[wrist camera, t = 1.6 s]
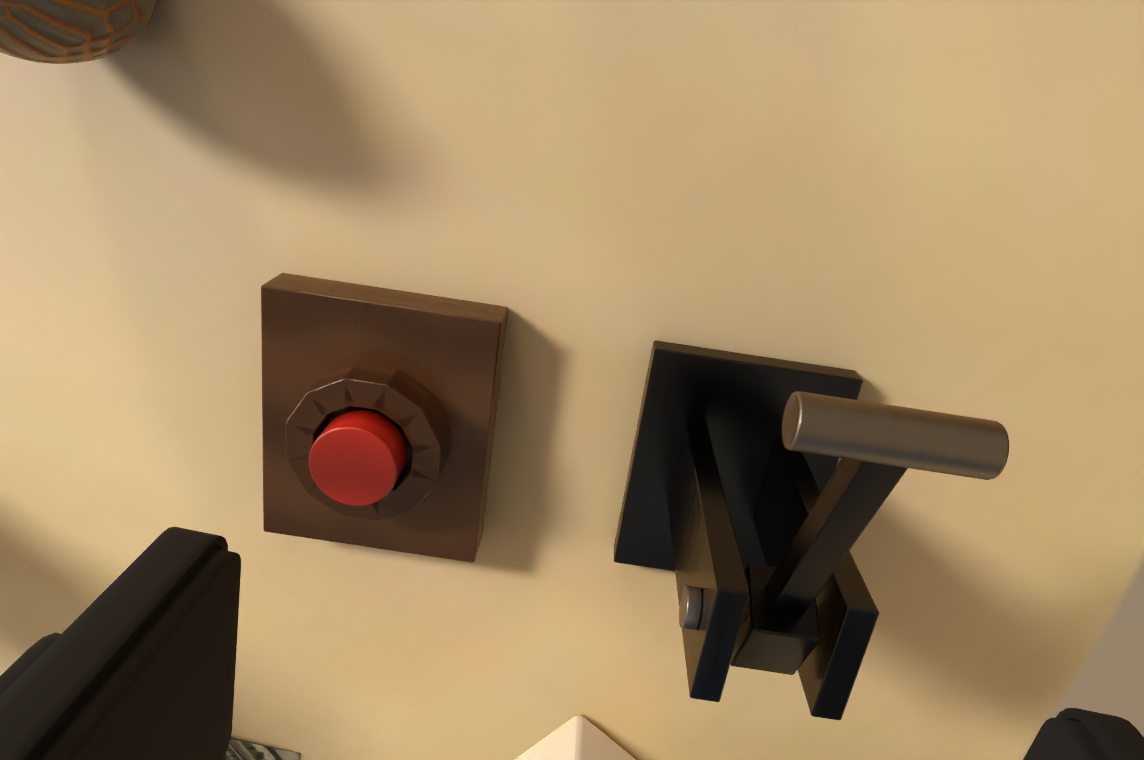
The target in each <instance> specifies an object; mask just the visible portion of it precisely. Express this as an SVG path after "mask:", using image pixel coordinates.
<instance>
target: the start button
mask: <svg viewBox="0 0 1144 760" xmlns="http://www.w3.org/2000/svg"><path fill="white" fill-rule="evenodd" d="M406 457H407V449H406V444H405V441H404V438H403V436H402V434H401V433H400V431H399V430H398V428H397V427H396V426H395V425H394V424H393V423H392V422H391V421H389V420H388V419H387V418H385V417H383V416H381V415H379V414H377V413H374V412H370V411H364V410H355V411H349V412H345V413H343V414H341V415H339V416H337V417H336V418H334V419H333V420H332V421H331V422H330V423H329V424H328V426H327V427H326V428H325V429H324V431H323V432H322V433H321V434H320V436H319V437H318V438H317V439H316V441H315V442H314V444H313V445H312V448H311V450H310V454H309V468H310V472H311V475H312V477H313V479H314V481H315V483H316V484H317V486H318V487H319V488H320V489H321V490H322V491H323V492H324V493H325V494H326V495H328V496H329V497H330V498H332V499H334V500H336V501H338V502H340V503H343V504H347V505H353V506H364V505H369V504H373V503H375V502H378V501H380V500H381V499H383V498H384V497H385V496H387V495H388V494H389V492H390V491H391V490H392V488H393V487H394V485H395V483H396V481H397V479H398V477H399V475H400V473H401V471H402V469H403V467H404V465H405V462H406Z"/></svg>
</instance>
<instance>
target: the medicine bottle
mask: <svg viewBox="0 0 1144 760" xmlns="http://www.w3.org/2000/svg"><path fill="white" fill-rule="evenodd" d="M514 760H636V759H635V758H633V757H632V756H631V755H630V754H629V753H627V752H626V751H625V750H624V749H622V748H621V747H620V746H619V745H618V744H616V743H615V742H614V741H613V740H611V739H610V738H609V737H608V736H607V735H605V734H604V733H603V732H602V731H600V730H599V729H598V728H597V727H596V726H594V725H593V724H592V723H591V722H589V721H588V720H587V719H586V718H585V717H583V716H581V715H576V716H574V717H573V718H571V719H570V720H568V721H567V722H566V723H564V724H563V725H561V726H560V727H559V728H557V729H556V730H555V731H553V732H552V733H550V734H549V735H548V736H546V737H545V738H543V739H542V740H541V741H539V742H538V743H536V744H535V745H534V746H532V747H531V748H529V749H528V750H527V751H525V752H524V753H522V754H521V755H520V756H518V757H517V758H515V759H514Z"/></svg>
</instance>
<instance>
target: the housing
mask: <svg viewBox="0 0 1144 760" xmlns="http://www.w3.org/2000/svg"><path fill="white" fill-rule="evenodd" d="M507 313H508V308H507V307H503V306H497V305H490V304H484V303H477V302H470V301H464V300H457V299H451V298H444V297H437V296H431V295H424V294H418V293H411V292H404V291H398V290H391V289H385V288H378V287H371V286H365V285H358V284H352V283H345V282H338V281H332V280H325V279H319V278H312V277H305V276H299V275H292V274H286V273H281V274H280V275H278V276H276V277H275V278H273V279H272V280H270V281H268V282H267V283H265V284H264V285H262V286H261V317H262V415H263V512H264V531H266V532H272V533H279V534H286V535H292V536H299V537H306V538H312V539H319V540H326V541H332V542H339V543H346V544H352V545H359V546H366V547H372V548H379V549H386V550H392V551H399V552H406V553H412V554H419V555H426V556H432V557H439V558H446V559H452V560H459V561H466V562H474V561H475V559H476V555H477V552H478V548H479V545H480V541H481V538H482V530H483V522H484V513H485V504H486V496H487V487H488V478H489V470H490V461H491V452H492V443H493V435H494V426H495V417H496V409H497V400H498V391H499V383H500V374H501V365H502V357H503V348H504V339H505V331H506V322H507ZM355 410H364V411H370V412H374V413H377V414H379V415H381V416H383V417H385V418H387V419H388V420H389V421H391V422H392V423H393V424H394V425H395V426H396V427H397V428H398V430H399V431H400V433H401V434H402V436H403V438H404V441H405V444H406V449H407V457H406V462H405V465H404V467H403V469H402V471H401V473H400V475H399V477H398V479H397V481H396V483H395V485H394V487H393V488H392V490H391V491H390V492H389V494H388V495H387V496H385V497H384V498H383V499H381V500H380V501H378V502H375V503H373V504H369V505H364V506H353V505H347V504H343V503H340V502H338V501H336V500H334V499H332V498H330V497H329V496H328V495H326V494H325V493H324V492H323V491H322V490H321V489H320V488H319V487H318V486H317V484H316V483H315V481H314V479H313V477H312V475H311V472H310V468H309V454H310V450H311V448H312V445H313V444H314V442H315V441H316V439H317V438H318V437H319V436H320V434H321V433H322V432H323V431H324V429H325V428H326V427H327V426H328V424H329V423H330V422H331V421H332V420H333V419H334V418H336V417H337V416H339V415H341V414H343V413H345V412H349V411H355Z"/></svg>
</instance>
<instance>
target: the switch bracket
mask: <svg viewBox="0 0 1144 760" xmlns="http://www.w3.org/2000/svg"><path fill="white" fill-rule="evenodd" d="M862 382H863V381H862V379H861V378H860V376H859V375H858V374H857V373H856V371H853V370H846V369H840V368H833V367H827V366H820V365H813V364H807V363H800V362H794V361H787V360H780V359H774V358H767V357H761V356H754V355H747V354H741V353H734V352H728V351H721V350H714V349H708V348H701V347H695V346H688V345H681V344H675V343H668V342H662V341H654V342H653V347H652V352H651V357H650V362H649V368H648V373H647V378H646V383H645V388H644V394H643V399H642V404H641V409H640V414H639V420H638V425H637V430H636V435H635V440H634V446H633V451H632V456H631V461H630V466H629V472H628V477H627V482H626V487H625V492H624V498H623V503H622V508H621V513H620V518H619V524H618V529H617V534H616V539H615V544H614V562H617V563H624V564H631V565H637V566H644V567H651V568H657V569H664V570H671V571H675V573H676V582H677V590H678V599H679V607H680V608H679V623H680V627H681V628H682V633H683V642H684V650H685V659H686V667H687V676H688V684H689V693H690V697H691V698H695V699H701V700H708V701H715V702H719V701H720V698H721V695H722V691H723V688H724V684H725V680H726V677H727V673H728V670H729V666H730V662H731V659H732V655H733V652H734V648H735V645H736V641H737V637H738V634H739V630H740V627H741V623H742V619H743V616H744V612H745V609H746V605H747V601H748V598H749V589H748V585H747V581H746V578H745V574H744V572H745V570H746V568H747V566H748V564H756V565H763V566H770V567H776V568H777V566H778V564H779V563H780V561H781V559H782V558H783V556H784V554H785V553H786V551H787V549H788V548H789V546H790V544H791V543H792V541H793V539H794V538H795V536H796V534H797V533H798V531H799V529H800V528H801V526H802V524H803V523H804V521H805V519H806V518H807V516H808V514H809V513H810V511H811V509H812V508H813V506H814V504H815V503H816V501H817V499H818V498H819V496H820V494H821V493H822V491H823V489H824V488H825V486H826V484H827V483H828V481H829V479H830V478H831V476H832V474H833V473H834V471H835V469H836V467H837V463H838V460H839V457H832V456H826V455H819V454H812V453H806V452H799V451H792V450H788V449H787V448H785V446H784V444H783V439H782V421H783V415H784V410H785V407H786V404H787V401H788V399H789V397H790V396H791V394H792V393H793V392H796V391H800V392H807V393H813V394H820V395H827V396H833V397H840V398H846V399H853V400H857V398H858V395H859V392H860V389H861V385H862ZM816 604H817V613H818V622H819V630H820V639H821V640H820V642H819V643H818V644H817V645H816V647H815V648H814V649H813V651H812V652H811V653H810V654H809V656H808V657H807V658H806V659H805V661H804V662H803V663H802V664H801V666H800V667H799V668H798V672H799V676H800V679H801V682H802V686H803V689H804V692H805V696H806V699H807V703H808V706H809V709H810V713H811V715H812V716H814V717H821V718H828V719H834V720H841V718H842V715H843V713H844V710H845V707H846V704H847V702H848V699H849V696H850V693H851V690H852V688H853V685H854V682H855V679H856V677H857V674H858V671H859V668H860V665H861V663H862V660H863V657H864V654H865V652H866V649H867V646H868V643H869V640H870V638H871V635H872V632H873V629H874V626H875V624H876V621H877V618H878V615H879V611H878V609H877V607H876V605H875V603H874V601H873V599H872V597H871V594H870V592H869V590H868V588H867V586H866V584H865V582H864V580H863V578H862V576H861V574H860V571H859V569H858V567H857V565H856V563H855V561H854V559H853V557H852V555H851V553H850V551H848V553H847V554H846V555H845V557H844V558H843V560H842V561H841V562H840V564H839V565H838V567H837V568H836V569H835V571H834V572H833V574H832V575H831V576H830V578H829V579H828V581H827V582H826V583H825V585H824V586H823V588H822V589H821V590H820V592H819V593H818V595H817V596H816Z"/></svg>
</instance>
